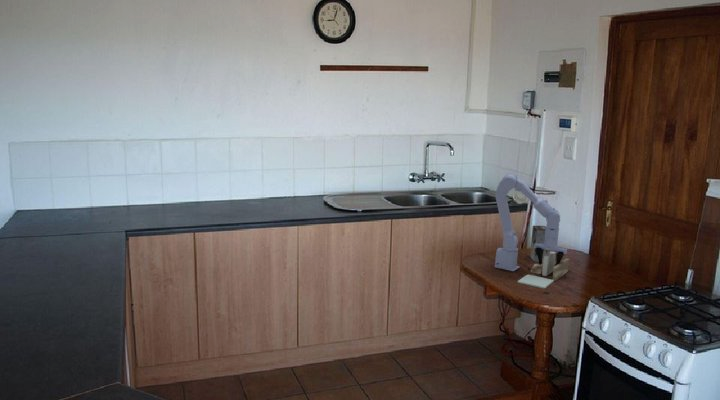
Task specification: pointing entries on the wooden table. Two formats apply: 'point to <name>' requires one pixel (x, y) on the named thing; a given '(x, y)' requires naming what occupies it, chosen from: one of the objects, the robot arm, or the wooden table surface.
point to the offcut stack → (537, 269)
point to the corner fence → (559, 269)
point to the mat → (535, 281)
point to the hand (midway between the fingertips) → (548, 265)
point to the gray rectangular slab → (548, 263)
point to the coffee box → (537, 241)
